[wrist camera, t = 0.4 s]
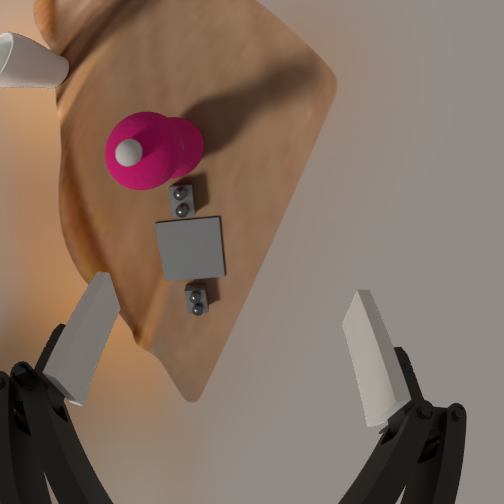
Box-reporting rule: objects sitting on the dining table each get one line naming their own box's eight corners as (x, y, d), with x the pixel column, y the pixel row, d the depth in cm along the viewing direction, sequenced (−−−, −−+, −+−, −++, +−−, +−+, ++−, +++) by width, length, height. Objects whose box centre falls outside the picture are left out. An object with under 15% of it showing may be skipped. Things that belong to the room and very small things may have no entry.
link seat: (155, 222, 36) (154, 223, 36) (219, 216, 37) (218, 217, 36) (166, 280, 40) (165, 281, 39) (224, 275, 40) (224, 276, 40)
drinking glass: (51, 52, 23) (-7, 33, 9) (81, 55, 25) (22, 28, 11) (36, 91, 25) (-28, 85, 11) (64, 96, 27) (-2, 87, 13)
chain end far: (186, 284, 40) (183, 294, 38) (205, 283, 40) (204, 292, 38) (190, 306, 42) (188, 316, 39) (209, 305, 42) (208, 315, 39)
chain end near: (171, 185, 34) (167, 188, 32) (193, 182, 34) (190, 185, 32) (175, 213, 36) (171, 219, 33) (196, 211, 36) (194, 217, 33)
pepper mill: (191, 182, 34) (153, 229, 16) (144, 161, 33) (63, 187, 14) (216, 133, 32) (203, 120, 14) (166, 112, 30) (101, 82, 12)
